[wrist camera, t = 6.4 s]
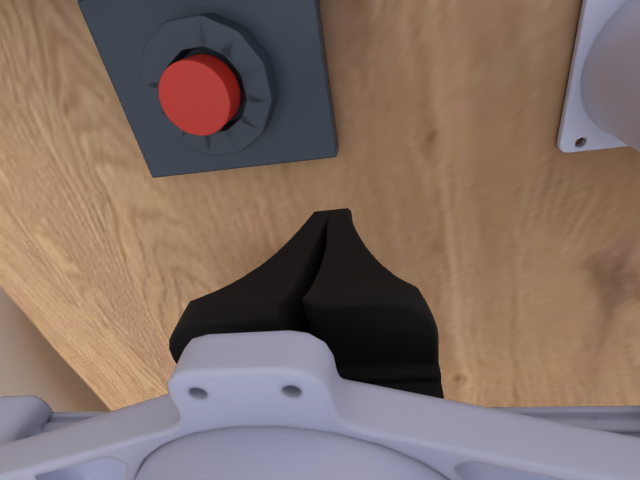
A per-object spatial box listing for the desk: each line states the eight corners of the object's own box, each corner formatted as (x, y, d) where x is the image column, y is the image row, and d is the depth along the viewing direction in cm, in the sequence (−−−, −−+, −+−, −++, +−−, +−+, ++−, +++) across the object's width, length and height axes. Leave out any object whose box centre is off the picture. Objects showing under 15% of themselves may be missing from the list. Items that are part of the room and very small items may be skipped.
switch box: (312, -46, 17) (303, -52, 14) (338, 148, 22) (335, 169, 19) (93, -1, 19) (52, 1, 16) (162, 168, 24) (138, 190, 21)
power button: (230, 48, 17) (217, 54, 15) (248, 120, 19) (239, 131, 17) (164, 59, 17) (146, 66, 16) (188, 128, 19) (173, 139, 18)
